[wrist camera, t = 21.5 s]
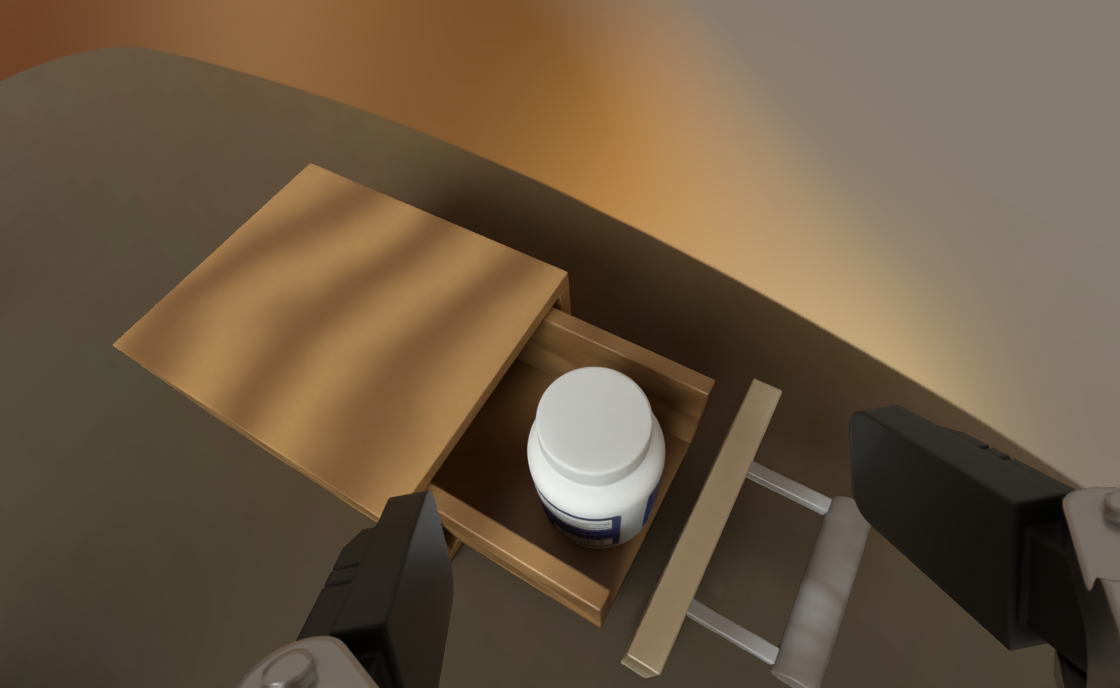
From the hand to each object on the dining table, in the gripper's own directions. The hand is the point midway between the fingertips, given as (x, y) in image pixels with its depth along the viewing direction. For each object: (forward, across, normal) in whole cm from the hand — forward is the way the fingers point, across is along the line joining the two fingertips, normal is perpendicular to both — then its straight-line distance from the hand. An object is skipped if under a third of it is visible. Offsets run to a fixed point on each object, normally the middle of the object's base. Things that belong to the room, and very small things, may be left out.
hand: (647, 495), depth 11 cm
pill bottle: (+15, 0, +8) cm, 17 cm away
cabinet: (+22, +10, +4) cm, 24 cm away
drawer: (+15, 0, +9) cm, 18 cm away
